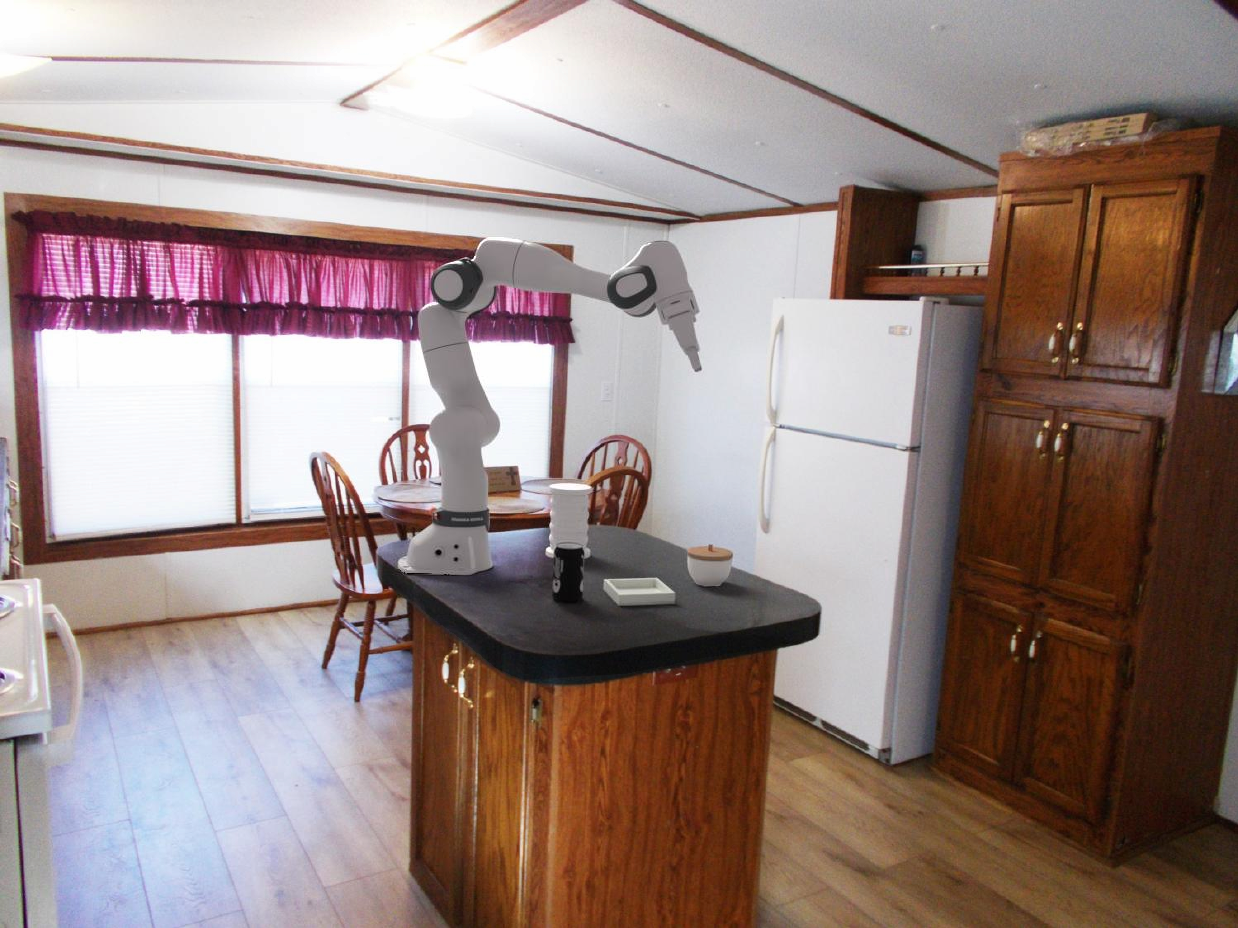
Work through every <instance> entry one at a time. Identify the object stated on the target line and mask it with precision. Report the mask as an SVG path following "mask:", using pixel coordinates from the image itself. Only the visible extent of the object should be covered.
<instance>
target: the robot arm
mask: <svg viewBox="0 0 1238 928" xmlns="http://www.w3.org/2000/svg"><path fill="white" fill-rule="evenodd" d="M688 280H689V279H688V272H687V268H686V266H685V263H684V260H683V257H682V255H681V253H680V252H679V249H678V248H677V246H676V244H674V243H673V242H671V241H668V240H654V241H651V242H647V243H645V244H643V245H642V246H640V249H638V252H637V253H636V255H634V257H633V258H632V259H631V260H630V261H629V262H627V263H626V264H625V265H624V266H622V267H620V269H618V270H616V271H615V272H613V273H612V274H609V273H604V272H601V271H598V270H592V269H589V268H585V267H583V266H581V265H578V264H576V263H574V262H573V261H571V260H569V259H568V258H566V257H565V256H563V255H562V254H561V253H559V252H557V251H555V250H553V249H552V248H550V247H547V246H545V245H542V244H539V243H537V242H533V241H529V240H524V239H519V238H514V237H513V238H512V237H503V236H492V237H491V236H489V237H486V238H484V239H483V240H482V241H481V242H480V243H479V244H478V245H477V248H476V251H475V254H474V257H473V259H471V258H469V257H463V258H461V259H458V260H454V261H451V262H448V263H445V264H443V265H441V266H440V267H438V268H437V269H436V270H435V271H434V273H433V274H432V275H431V278H430V283H429V286H430V287H429V289H430V292H431V295H432V297H433V299H434V300H435V301H432V302H429V303H427V304H426V305H424V306H423V307H422V308H420V310H419V312H418V314H417V323H418V324H417V325H418V326H417V327H418V334H419V335H418V336H419V342H420V343H419V344H420V347H421V352H422V355H423V360H424V363H425V367H426V372H427V375H428V379H429V383H430V385H431V388H432V389H433V390H434V391H435V392H436V393H437V395H438V397H439V399H440V400H441V402H442V404H443V406H444V408H445V409H443V410H441V411H440V412H439V413H437V415H435V416H434V418H432V419H431V422H430V424H429V428H428V433H429V434H428V435H429V438H430V441H431V443H432V444H433V445H434V447H435V449H436V453H437V454H436V455H437V458H438V464H439V469H440V478H441V484H440V486H441V491H440V492H441V493H440V495H441V498H440V499H441V500H440V502H441V503H440V507H438V508H437V507H435V506H432V507H430V509H429V514H430V516H431V520H432V523H431V524H430V525H428V526H427V527H426V528H424V529H423V530H422V531H420V532H418V534H416V535H415V536H413V537H412V539H411V540H410V542H409V545H408V549H407V553H406V556H403V557H400V558H399V559H398V561H397V568H398V570H399V569H400V570H401V571H400V570H399V571H400V572H402V573H404V572H405V573H404V574H407V573H432V574H431V575H444V574H447V575H448V574H449V576H451V575H452V576H453V575H455V576H471V575H473V574H475V573H478V572H482V571H486V570H489V569H491V568H493V566H494V564H493V560H492V556H491V550H490V544H489V543H490V542H489V530H490V526H491V525H490V520H491V519H490V515H491V514H490V509H489V507H488V506H489V505H488V503H489V475H488V473H487V471H486V469H485V466H484V460H483V456H482V455H483V453H482V448H485V447H486V446H489V445H490V444H491V443H492V442H493V441H494V440H495V438H496V437H497V436H498V435H499V433H500V429H501V421H500V417H499V415H498V413H497V412H496V411H495V410H494V409H493V408H492V406H491V403H490V401H489V399H488V396H487V395H486V392H485V390H484V388H483V386H482V383H481V380H480V378H479V376H478V372H477V369H476V366H475V362H474V357H473V354H472V351H471V347H470V343H469V339H468V335H467V330H466V321H467V319H468V320H470V319H473V318H475V317H476V316H478V315H479V314H480V313H482V312H484V311H485V310H487V309H489V307H491V306H492V305H493V303H494V302H495V300H496V299H497V295H498V286H504V287H509V288H513V289H517V290H522V291H526V292H534V293H536V292H537V293H550V294H551V293H553V294H555V293H556V294H572V295H579V296H582V297H588V298H590V299H595V300H599V301H602V302H606V303H610V304H612V305H613V306H615V307H616V308H618V309H619V310H620V311H623V312H624V313H626V314H627V315H629V316H630V317H633V318H644V317H647V316H649V315H651V314H652V313H653V312H654V311H657V313H658V316H659V320H660V322H661V325H663V326H667V325H668V328H669V331H672V332H673V334H674V337H675V339H676V340H677V343H678V345H679V346H680V348H681V350H682V352H683V353H684V355H685V356H688V360H689V361H690V365H691V368H692V369H693V370H694V372H695V373H698V372H701V371H702V369H703V368H702V364H701V360H700V356H699V353H698V352H700V350H701V348H700V345H699V342H698V339H697V334H696V330H695V324H694V323H695V322H697V318H696V315H697V314H699V313H700V308H699V305H698V301H697V298H696V296H695V293H694V291H693V288H692V287H691V286H690V284H689V281H688Z"/></svg>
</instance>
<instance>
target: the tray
mask: <svg viewBox="0 0 1238 928" xmlns="http://www.w3.org/2000/svg"><path fill="white" fill-rule="evenodd" d="M602 590H603V591H604V592H605V593H606V594H607V595H608V596H609V597H610V598H611V600H612V601H613V602H614V603H615V604H616V605H617V606H618V607H620V606H622V607H625V606H628V607H629V606H647V605H648V606H652V605H674V604H676V592H675V591H674V590H672V589H671V588H670V587H669V586H668V585H666V584H665V583H664V582H663V581H662V580H660V579H659V578H658V577H644V578H642V577H639V578H638V577H637V578H608V579H605V578H604V579H603V589H602Z"/></svg>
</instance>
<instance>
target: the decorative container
mask: <svg viewBox="0 0 1238 928" xmlns="http://www.w3.org/2000/svg"><path fill="white" fill-rule="evenodd" d="M549 492H550V493H551V498H550V501H549V503H550V506H551V507H550V509H551V510H550V512H549V516H550V522H549V524H548V525H549V530H550V533H549V537H548V540H549V546H548V547H547V548H546V549H545V555H546V556H547V557H549V558H550V559H554V550H555V548H556V544H557V543H560V542H576V543H580V544H582V545H583V547H582V548H583V550H584V552H585V553H584V560H585V559H588V558H590V557H591V549H589V547H588V548H587V543H588V542H589V536H588V531H589V523H588V519H589V517H590V512H589V506H590V498H589V494H592V486H591V485H588V484H583V483H575V482H574V483H573V482H572V483H568V482H565V483H563V482H561V483H553V484H550V485H549Z"/></svg>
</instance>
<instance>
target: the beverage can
mask: <svg viewBox="0 0 1238 928" xmlns="http://www.w3.org/2000/svg"><path fill="white" fill-rule="evenodd" d="M582 547H583V545H582V544H580V543H576V542H560V543H557V544H556V548H555V550H554V558H553V560H552V561H553V563H552V565H553V566H552V568H553V570H552V588H551V590H552V597H553V598H554V600H555V601H557V602H560V603H566V604H569V603H570V604H571V603H573V604H574V603H578V602H579V601H580V600H581V599H583V595H584V576H585V575H584V574H585V573H584V572H585V559H584V553H585V552H584V550H583V548H582Z"/></svg>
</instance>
